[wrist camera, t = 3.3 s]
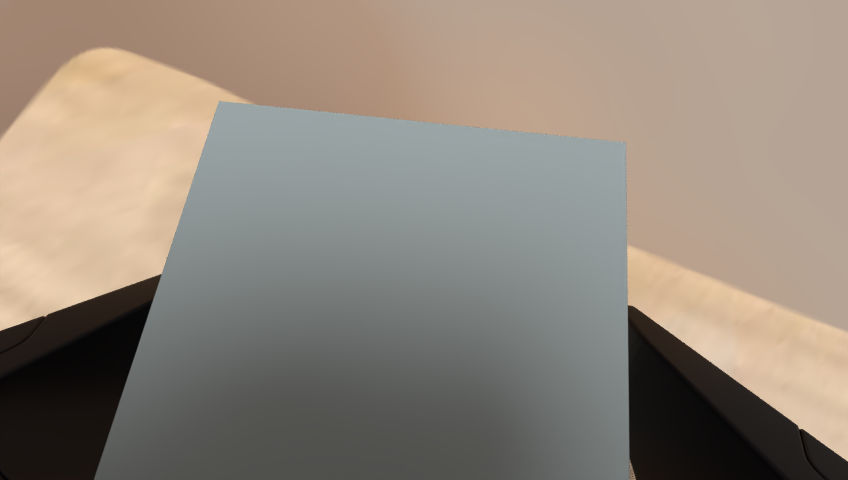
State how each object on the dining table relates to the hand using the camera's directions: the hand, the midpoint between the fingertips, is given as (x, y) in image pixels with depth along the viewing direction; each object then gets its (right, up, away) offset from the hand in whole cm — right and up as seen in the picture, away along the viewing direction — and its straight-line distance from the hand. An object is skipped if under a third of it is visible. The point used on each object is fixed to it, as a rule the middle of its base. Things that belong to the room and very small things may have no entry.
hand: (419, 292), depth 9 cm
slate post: (0, -3, +6) cm, 7 cm away
